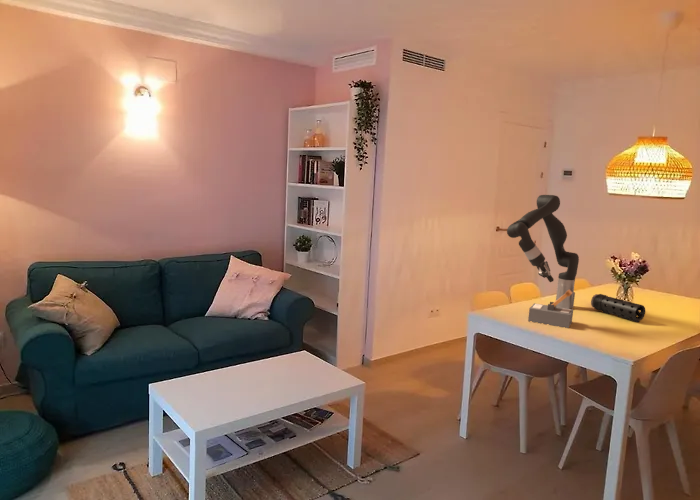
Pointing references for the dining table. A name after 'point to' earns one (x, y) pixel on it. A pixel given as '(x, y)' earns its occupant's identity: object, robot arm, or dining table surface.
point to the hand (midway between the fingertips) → (552, 281)
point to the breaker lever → (562, 297)
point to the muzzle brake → (618, 307)
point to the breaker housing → (550, 315)
